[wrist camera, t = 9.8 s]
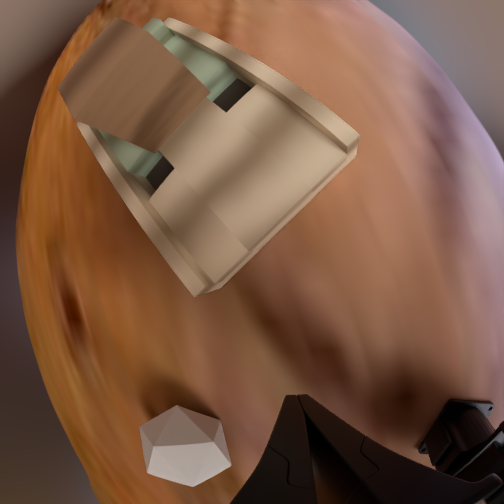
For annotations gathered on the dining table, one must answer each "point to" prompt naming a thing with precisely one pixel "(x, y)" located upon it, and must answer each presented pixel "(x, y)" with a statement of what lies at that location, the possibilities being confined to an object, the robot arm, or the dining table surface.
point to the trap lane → (225, 161)
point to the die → (184, 446)
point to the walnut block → (131, 87)
